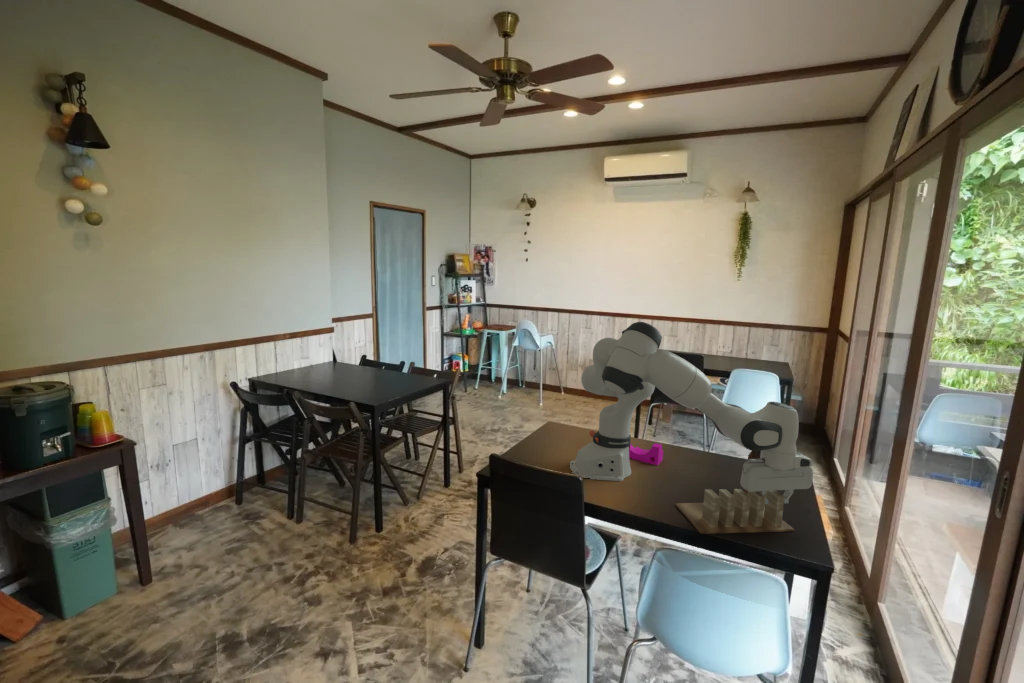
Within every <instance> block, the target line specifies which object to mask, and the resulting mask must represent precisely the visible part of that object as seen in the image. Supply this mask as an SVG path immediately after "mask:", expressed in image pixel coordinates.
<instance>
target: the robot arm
mask: <svg viewBox="0 0 1024 683" xmlns="http://www.w3.org/2000/svg"><path fill="white" fill-rule="evenodd" d="M662 338H663V337H662V334H661V332H660V331H659V330H658V329H657V328H656V327H654V326H653V325H651V324H650V323H647V322H645V321H644V322H643V321H636V322H633V323H631V324H629V326H628V327H627V328H626V329H624V330H622V331H621V336H620V338H618V339H616V338H613V337H604V338H601V339H600V340H598V341H597V342H596V343H595V345H594V346H593V349H592V362H593V364H590V365H588V366H587V367H585V368H584V370H583V372H582V374H581V377H580V380H581V385H582V388H583V389H584V390H585V391H586V392H589V393H592V394H595V395H600V396H606V397H615V398H617V402H614V403H612V404H609V405H607V406H604V407H603V408H602V409H601V410H600V413H599V420H598V421H599V422H598V430H597V431H596V432H595V431H594V430H590V431H589V436H590V437H591V438H592V441H590V442H589V443H588V444H586V445H584V446H583V447H581V448H580V449H579V450H578V451H577V453H576V457H575V459H574V460H571V461H570V462H569V465H570V467H569V470H570V469H571V470H572V471H573V472H571V473H572V474H573V473H574V474H579V475H581V476H582V477H584V478H590V479H589V480H595V479H596V481H598V480H599V481H609V482H610V481H611V482H623V481H624V479H625V478H627V477H629V476H631V475H632V468H631V460H630V458H629V449H630V444H632V440H631V439H632V438H631V436H632V435H631V434H630V433H631V425H632V424H631V423H632V420H633V419H632V418H633V416H634V415H633V414H634V412H635V410H636V408H637V407H638V406H639V405H640V404H641V403H642V402H643V401H645V400H647V399H648V398H650V397H651V396H652V395H653V393H654V391H655V389H658V390H659V391H660V392H662V394H664V395H665V396H666V397H668V398H669V399H671V400H672V401H673V402H676V403H678V405H681V406H683V407H686V408H688V409H691V410H692V409H697V410H698V411H700V412H701V413H702V414H704V415H705V416H706V417H707V418H708V419H710V420H711V422H712V423H713V426H714V427H715V428H716V430H717V432H718V433H719V434H720V435H722V436H724V437H726V438H728V439H730V440H732V441H733V442H735V443H736V444H738V445H739V446H741V447H743V448H744V449H747V450H749V451H750V452H751V451H761V456H760V459H748V458H747V460H746V461H745V462H744V463H743V465H742V471H741V475H740V482H739V483H740V487H742V488H743V490H744V489H745V490H747V491H748V492H756V491H758V492H759V493H760V494H762V495H763V496H765V503H764V506H765V505H766V504H769V499H768V498H767V497H766V492H767V491H784V492H783V494H781V495H782V496H784V504H789V501H790V497H792V495H793V494H794V492H795V491H794V490H808V489H810V488H811V486H812V485H813V480H814V479H813V478H814V472H813V468H812V466H813V464H814V460H813V459H811V458H809V457H808V456H806V455H804V454H802V453H800V452H798V451H797V449H798V448H797V445H796V444H797V439H798V438H799V429H800V428H799V427H800V426H799V425H800V424H799V423H800V421H799V413H798V410H797V409H796V408H795V407H793V406H791V405H789V404H785V403H782V402H778V401H768V402H767V403H766V405H764V407H762V408H760V409H759V410H757V411H755V412H750V411H747V410H745V409H744V408H742V406H741V407H740V406H739V405H736V404H732V403H726V402H724V401H722V399H720V398H719V397H717V396H716V395H715V394H713V393H712V388H713V387H712V386H713V385H712V381H711V380H710V379H709V378H708V377H707V375H706V374H705V373H704V372H703V371H701V370H700V368H698V367H696V366H695V365H694V364H692V363H691V362H689V361H688V360H686V359H685V358H683V357H680V356H679V355H677V354H675V353H674V352H671V351H669V350H667V349H661V350H658V349H660V346H661V342H662ZM747 462H749V463H747ZM571 470H570V471H571ZM574 474H573V475H574ZM764 494H765V495H764Z"/></svg>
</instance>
